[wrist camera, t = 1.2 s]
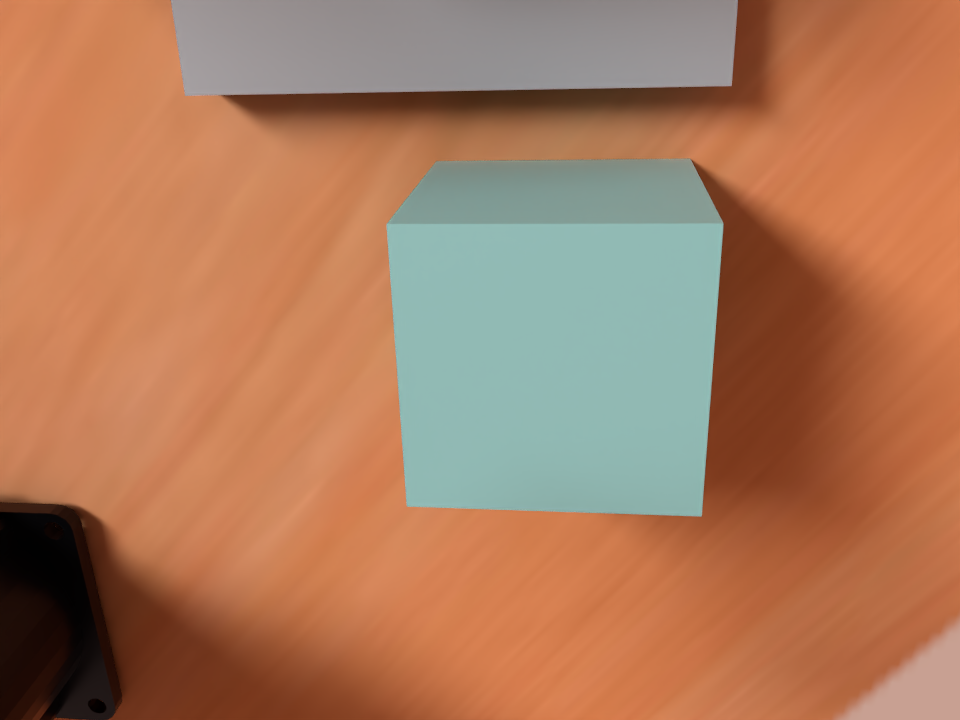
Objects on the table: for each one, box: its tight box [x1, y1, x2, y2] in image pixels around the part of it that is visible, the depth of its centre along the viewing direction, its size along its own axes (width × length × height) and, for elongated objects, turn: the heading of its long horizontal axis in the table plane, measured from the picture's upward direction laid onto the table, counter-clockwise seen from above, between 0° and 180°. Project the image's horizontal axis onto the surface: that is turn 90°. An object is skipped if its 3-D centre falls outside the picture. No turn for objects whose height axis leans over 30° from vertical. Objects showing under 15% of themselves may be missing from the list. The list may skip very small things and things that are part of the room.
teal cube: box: [387, 159, 724, 516], centre depth 17 cm, size 5×5×5 cm
